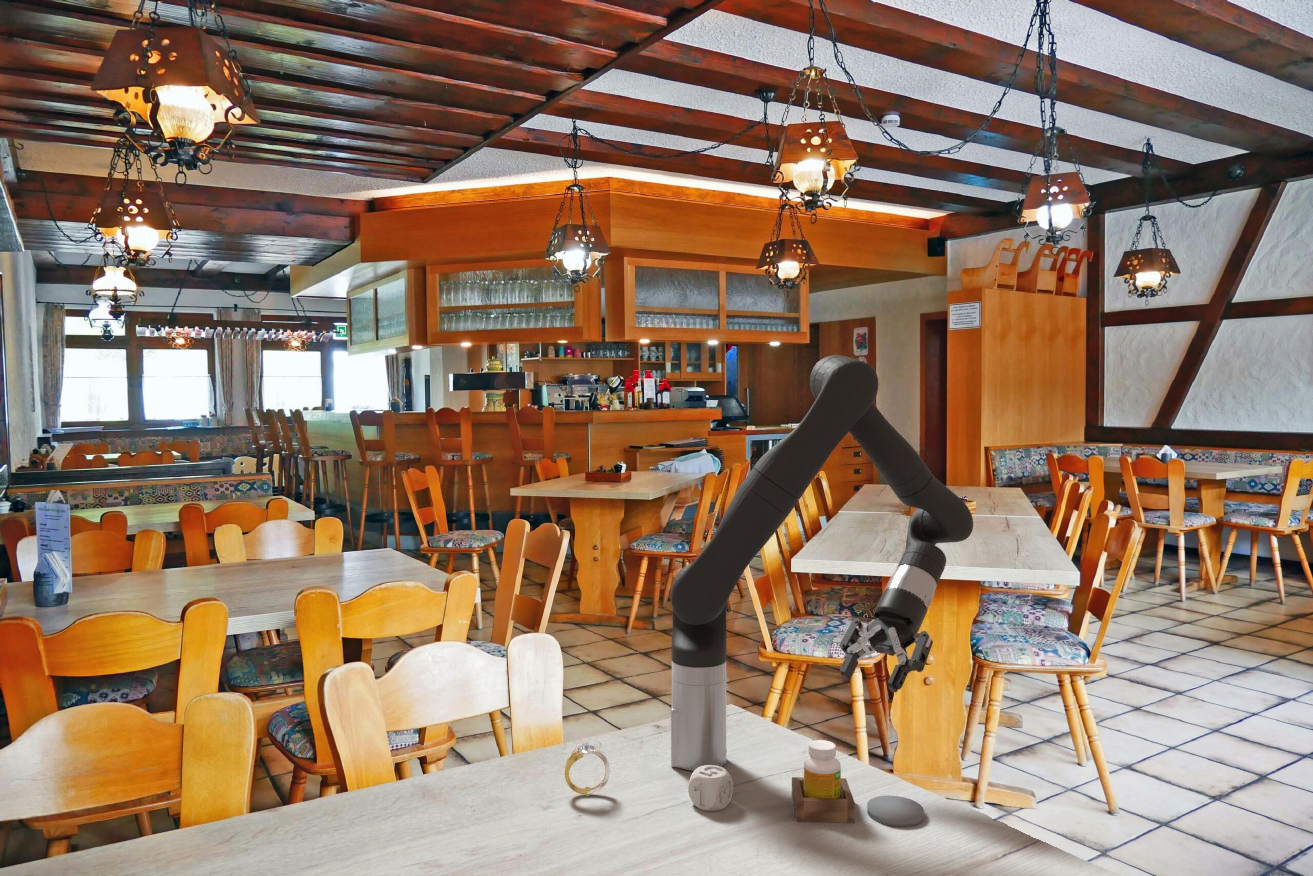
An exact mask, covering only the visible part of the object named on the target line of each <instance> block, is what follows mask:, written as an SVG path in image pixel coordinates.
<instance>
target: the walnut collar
mask: <svg viewBox="0 0 1313 876" xmlns="http://www.w3.org/2000/svg"><path fill="white" fill-rule="evenodd" d="M851 791H852V790H851V789H850V786H849V783H848V781H847V778H844V777H843V778H842V777H841V799H829V798H804V776H802V777H798V776H796V777H794V776H793V777H791V799H792V805H793V809H794V814H795V818H796V822H810V823H811V822H813V823H814V822H815V823H817V822H818V823H849V824H850V823H851V824H853V823H855V821H856V820H855V812H856V811H855V808H856V807H855V800H854V796H853V794H852V792H851Z"/></svg>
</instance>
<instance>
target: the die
mask: <svg viewBox="0 0 1313 876" xmlns="http://www.w3.org/2000/svg"><path fill="white" fill-rule="evenodd" d="M687 786H688V787H687V792H688V795H689V798H690V799H689V800H691V803H692V804H693V805H694V806H695V807H696V808H698V809H699V810H702V811H705V812H706V811H707V812H716V811H721V810H723V809H725V808H726V807H727V806H728V805H729V804H730V803H731V802H730V801H731V799H732V796H733V793H734V792H733V791H734V781H733V778H732V776H731V774H730V773H729V771H727V769H725V768H724V767H723V766H722V767H720V766H716V765H704V766H700V767H698V768H697V769H695V770H694V771H692V774H691V775H690V778H689V782H688V785H687Z"/></svg>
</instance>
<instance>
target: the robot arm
mask: <svg viewBox="0 0 1313 876" xmlns="http://www.w3.org/2000/svg"><path fill="white" fill-rule="evenodd" d="M879 385H880V384H879V378H878V374H877V372H876V370H875V368H874V367H872V366H871V365H870V364H869V363H867V362H865V361H863V360H860V359H857V358H853V357H850V356H848V355H841V354H839V355H838V354H834V355H833V354H831V355H828V356H826V357H825V356H824V357H822V358H821V359H820V360H819V361H817V362H816V363H815V364H814V366H813V368H812V370H811V372H810V376H809V387H810V391H811V394H812V396H813V397H814V399H815V400H814V402H813V403H812V406H811V407H810V409H809V410H808V411H807V413H806V415H804V417H803V418H802V420H801V421H800V422H799V424H798V425H797V426H796V427H795V428H794V429H793V430H792V431H791V432H790V433H788V434H786V435H785V437H784V438H782V439H781V440H779V441H778V442H777V443H776V444H775V445H774V446H771V448H770V449H768V450H767V451H766V452H765V453H764V454H763V455H762V456H761V457H760V458H759V460H758V461H757V462H756V463H755V464H754V466H753V467H752V469H751V470H750V472H749V473H748V474H747V475H746V477H745V479H744V480H743V481H742V483H741V484H740V486H739V487H738V489H737V491H736V493H735V494H734V495H733V497H732V499H731V501H730V503H729V505H728V506H727V508H726V510H725V512H724V513H723V517H722V519H721V521H720V522H719V525H718V527H717V529H716V531H715V532H714V534H713V536H712V537H711V538H710V541H709V542H708V543H707V544H706V546H705V547H704V548H703V550H702V551H701V552H700V553H699V555H698V556H697V557H696V558H695V559H694V560H693V562H692V563H689V564H687V565H685V566H683V567H682V568H681V569H680V570H679V571H678V572H677V574H676V575H675V577H674V580H673V582H672V585H671V588H670V594H669V597H670V605H671V607H672V632H671V648H670V649H671V651H670V652H671V706H670V707H671V708H670V767H672V768H680V769H682V770H686V771H692V772H694V770H695V769H697V768H698V767H700V766H704V765H716V766H720V767H723V766H725V765H726V763H727V752H728V751H727V640H728V639H727V602H728V601H729V598H730V596H731V595H732V592H733V591H734V590H735V589H734V588H735V587H736V585H737V584H738V582H739V580H740V579H741V577H742V575H743V573H744V572H745V570H746V569H747V567H748V566H749V564H751V562H752V560H753V559H754V558H755V557H756V555H758V553H760V552H761V550H762V549H763V548H764V546H765V545H767V543H768V542H769V540H770V539H771V538H772V537H773V535H774V534H775V533H776V532H777V531H778V529H779V528H780V527H781V525H782V524H783V523H784V522H785V520H786V519H787V518H788V517H789V516H790V514H791V512H792V511H793V510H794V508H795V507H796V505H797V504H798V502H799V501H800V500H801V498H802V497H803V495H804V493H805V492H806V490H807V489H808V487H809V486H810V484H811V483H812V482H813V480H814V479H815V478H816V476H817V474H818V473H819V472H820V471H821V469H822V468H823V466H824V464H825V463H826V461H827V460H828V459H829V457H830V456H831V454H832V453H833V451H834V450H835V449H836V448H837V446H838V445H839V444H840V443H841V441H842V440H844V438H845V437H846V436H847V434H848V433H849V434H850V435H851V436H852V437H853V438H854V439H855V440H856V442H857V444H859V446H860V447H861V448H862V450H863V451H864V452H865V454H866V455H867V457H868V458H869V459H870V460H871V462H872V464H873V465H874V466H875V467H876V470H877V471H878V473H880V475H881V477H883V479H884V481H885V482H886V484H888V486H889V487H890V489H891V490H892V491H893V493H894V494H895V495H896V497H897V498H898V500H899V501H900V502H901V503H902V504H904V505H905V506H906V507H910V508H915V510H914V511H913V513H912V514H911V516H910V518H909V522H908V526H907V534H906V540H905V541H906V542H905V550H904V552H903V554H902V556H901V558H900V561H899V562H898V565H897V567H896V568H895V570H894V572H893V574H892V575H891V576H890V578H889V580H888V582H887V584H886V586H885V588H884V590H883V593H882V595H880V598H879V601H878V602H877V605H876V606H875V608H874V613H873V618H872V620H870V621H869V622H868V623H866V622H862V621H861V620H860V618H858V617H855V618H853V619H852V621H851V623H850V625H849V627H848V629H847V630H846V631H845V634H844V636H843V637H842V640H841V641H840V643H839V644H838V645H839V648H840V649H841V650H842V652H843V653H844V654H845V657H844V659H843V662H842V664H841V666H840V669H839V671H840V675H841V677H842V678H843V679H844V680H845V681H851V680H852V677H853V676H854V673H855V671H856V669H857V667H858V664H859V661H860V660H861V659H863V658H864V657H866V656H871V655H873V654H874V653H875V652H876V653H878V654H886V655H888V656H892V657H894V656H896V659H897V662H898V664H895V665H894V668H893V670H892V673H891V675H890V677H889V679H888V681H887V685H886V686H887V687H888V689H889V691H891V692H892V693H897V692H898V691H899V690H901V689H902V688H903V686H904V683H905V681H906V679H907V676H908V675H909V674H910V673H911V672H915V671H916V672H917V673H922V672H923V671H924V669H925V667H926V666H925V665H926V664H927V660H928V658H929V655H930V652H931V649H932V647H933V644H934V641H933V639H932V638H931V636H930V635H929V633H928V632H927V631H926V630H922V631H921V632H919V631H920V629H921V627H922V624H923V622H924V619H925V617H926V615H927V613H928V611H929V608H930V606H931V604H932V602H933V600H934V597H935V592H936V589H937V586H938V585H939V582H940V580H941V577H942V575H943V572H944V570H945V569H946V564H947V557H946V554H945V552H944V551H943V550H942V549H941V548H940V547H939V546H937V545H936V544H946V543H959V542H963V541H965V540H967V539H969V537H970V536H971V534H972V533H973V531H974V530H973V529H974V519H973V514H972V512H971V510H970V508H969V507H968V506H967V504H966V503H965V502H964V501H963V500H962V499H961V498H960V497H959V496H958V495H957V494H955V492H953V491H952V490H951V489H950V488H948V487H947V486H946V485H945V484H943V483H942V482H941V481H940V480H939V479H937V478H936V476H934V474H933V473H932V471H931V470H930V468H929V467H928V465H926V463H925V461H924V460H923V458H922V457H921V456H920V454H919V453H918V452H917V451H916V449H914V447H913V446H912V445H911V444H910V443H909V441H908V440H906V438H904V437H903V436H902V434H900V432H899V431H897V429H896V428H895V427H894V426H893V425H892V424H891V423H890V422H889V421H888V420H887V418H886V417H885V416H884V415H883V414H882V412H881V411H880V410H879V408H878V407H877V405H876V404H875V400H876V398H877V395H878V391H879ZM867 643H869V645H868V646H867ZM914 643H915V646H914V649H913V652H912V654H911V657H909V654H908V650H907V649H908V648H909V647H910V646H911V645H913V644H914Z"/></svg>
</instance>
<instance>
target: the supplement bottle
mask: <svg viewBox="0 0 1313 876" xmlns="http://www.w3.org/2000/svg"><path fill="white" fill-rule="evenodd" d="M836 746H837V745H836V744H835V743H833V742H832V741H829V740H824V739H817V740H811V741H810V742H809V743H808V754H809V755H808V756H806V757H805V758H804V762H803V777H804V798H829V799H841V778H842V776H841V773H842V772H841V771H842V767H841V762H840V760H839V759H838V758H837V757H836V756H837V747H836Z"/></svg>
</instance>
